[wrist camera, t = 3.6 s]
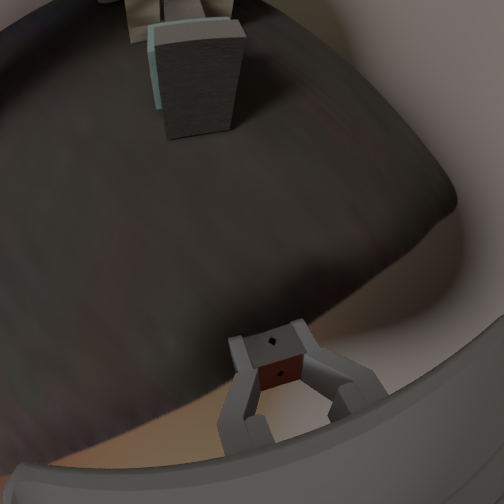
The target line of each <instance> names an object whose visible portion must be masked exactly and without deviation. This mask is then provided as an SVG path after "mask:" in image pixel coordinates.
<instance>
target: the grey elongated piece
mask: <svg viewBox="0 0 504 504" xmlns="http://www.w3.org/2000/svg"><path fill="white" fill-rule="evenodd" d="M163 7H164V22H171V21H179V20H187V19H197V18H206V17H205V14H204V11H203V8H202V5H201V2H200V0H163ZM246 38H247V37H246V35H245V33H244V31H243V29H242V27H241V25H240V23H239V21H238V20H212V21H198V22H188V23H180V24H172V25H165V26H159V27H154V48H155V58H156V67H157V75H158V83H159V90H160V98H161V105H162V111H163V118H164V124H165V131H166V137H167V140H170V139H175V138H180V137H186V136H192V135H198V134H205V133H212V132H219V131H227V130H230V124H231V118H232V112H233V107H234V101H235V95H236V90H237V84H238V79H239V73H240V68H241V63H242V58H243V53H244V48H245V43H246Z"/></svg>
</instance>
